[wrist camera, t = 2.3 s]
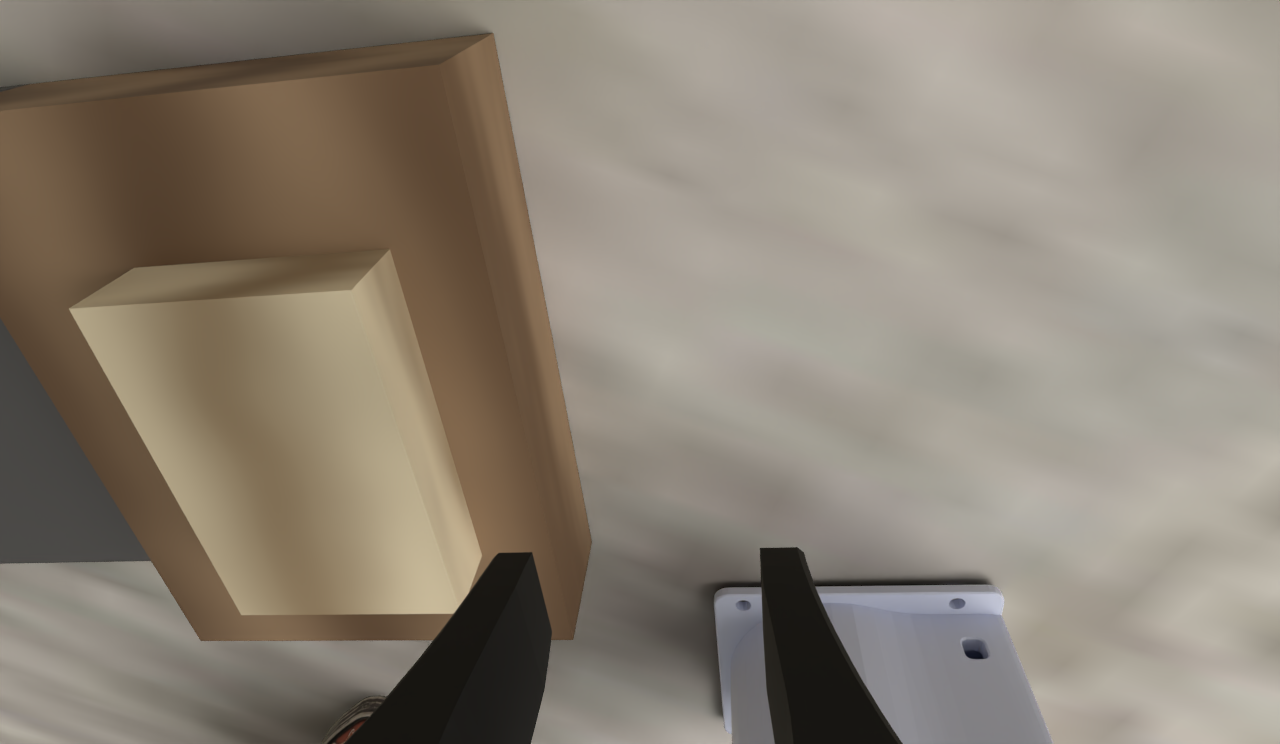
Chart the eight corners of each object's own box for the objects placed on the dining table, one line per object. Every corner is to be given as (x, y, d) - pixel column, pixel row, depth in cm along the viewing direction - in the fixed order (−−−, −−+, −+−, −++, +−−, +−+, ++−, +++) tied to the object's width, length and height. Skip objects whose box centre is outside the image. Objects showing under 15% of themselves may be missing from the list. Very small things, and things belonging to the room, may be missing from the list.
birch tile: (389, 249, 16) (350, 290, 14) (482, 555, 21) (461, 613, 19) (134, 267, 17) (68, 308, 15) (279, 558, 21) (241, 615, 20)
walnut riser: (492, 33, 17) (438, 64, 14) (591, 542, 26) (573, 639, 22) (30, 84, 19) (-121, 123, 15) (264, 548, 27) (200, 640, 24)
